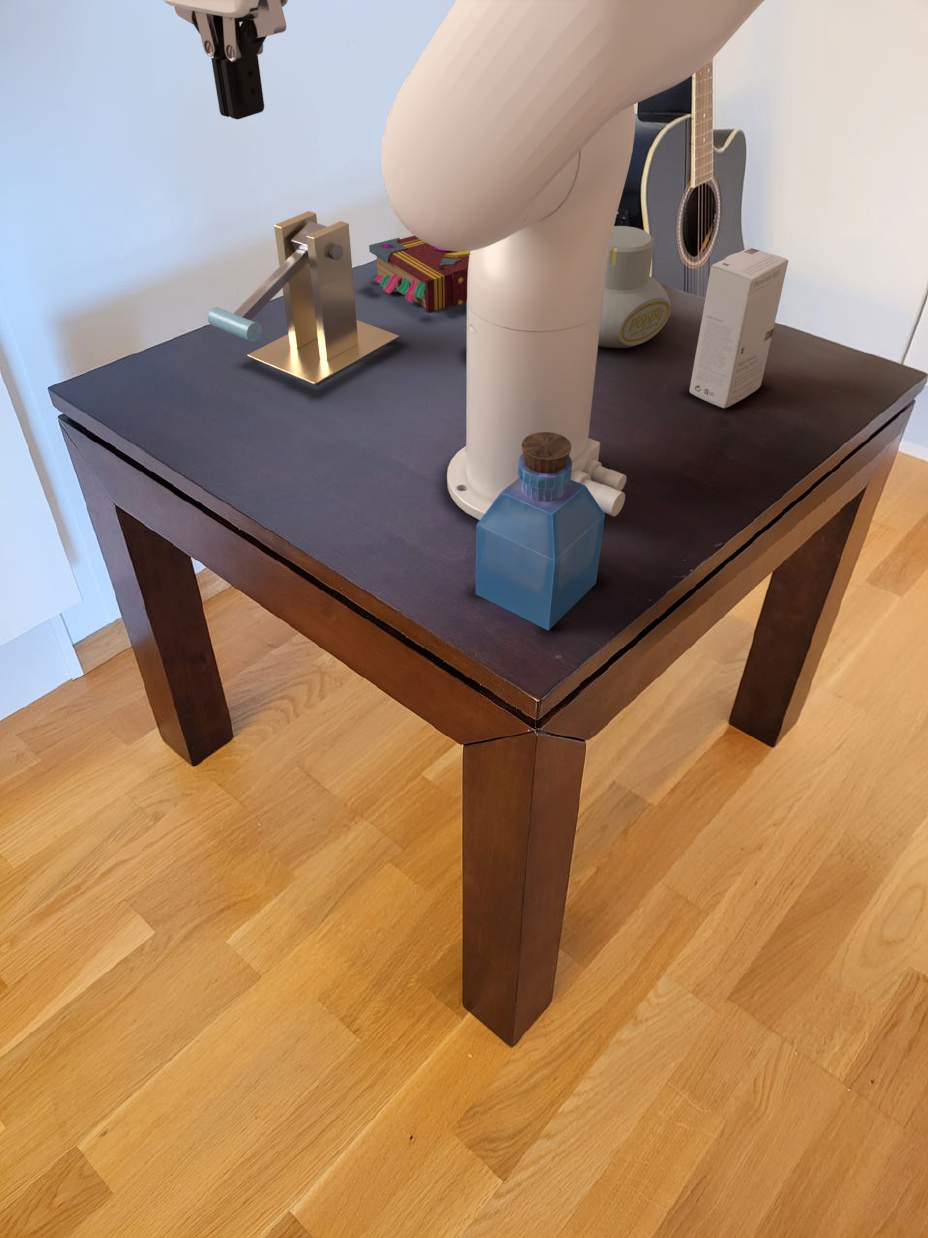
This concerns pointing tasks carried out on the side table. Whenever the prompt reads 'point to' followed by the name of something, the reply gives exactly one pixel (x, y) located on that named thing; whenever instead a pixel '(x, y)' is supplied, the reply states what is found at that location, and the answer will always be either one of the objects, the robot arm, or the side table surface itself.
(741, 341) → the cosmetic box
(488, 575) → the perfume bottle
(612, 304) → the air freshener
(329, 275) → the bracket
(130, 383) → the side table surface
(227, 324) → the tap lever
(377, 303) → the side table surface
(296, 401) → the side table surface
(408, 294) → the decorative book
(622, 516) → the side table surface
